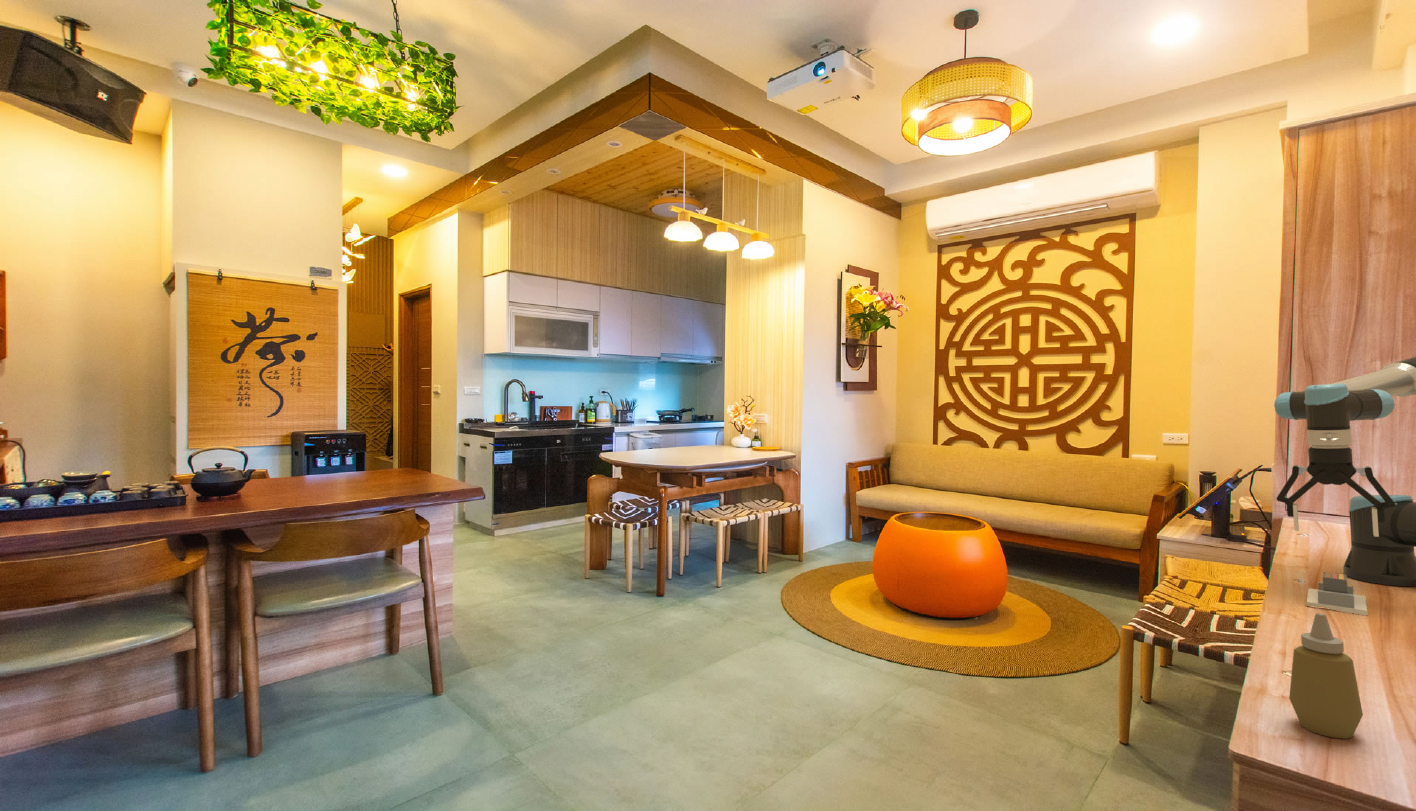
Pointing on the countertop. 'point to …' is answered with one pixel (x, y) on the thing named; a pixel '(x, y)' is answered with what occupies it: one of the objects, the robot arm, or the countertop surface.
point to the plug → (1334, 582)
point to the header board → (1337, 600)
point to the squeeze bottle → (1324, 684)
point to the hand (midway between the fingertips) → (1335, 532)
